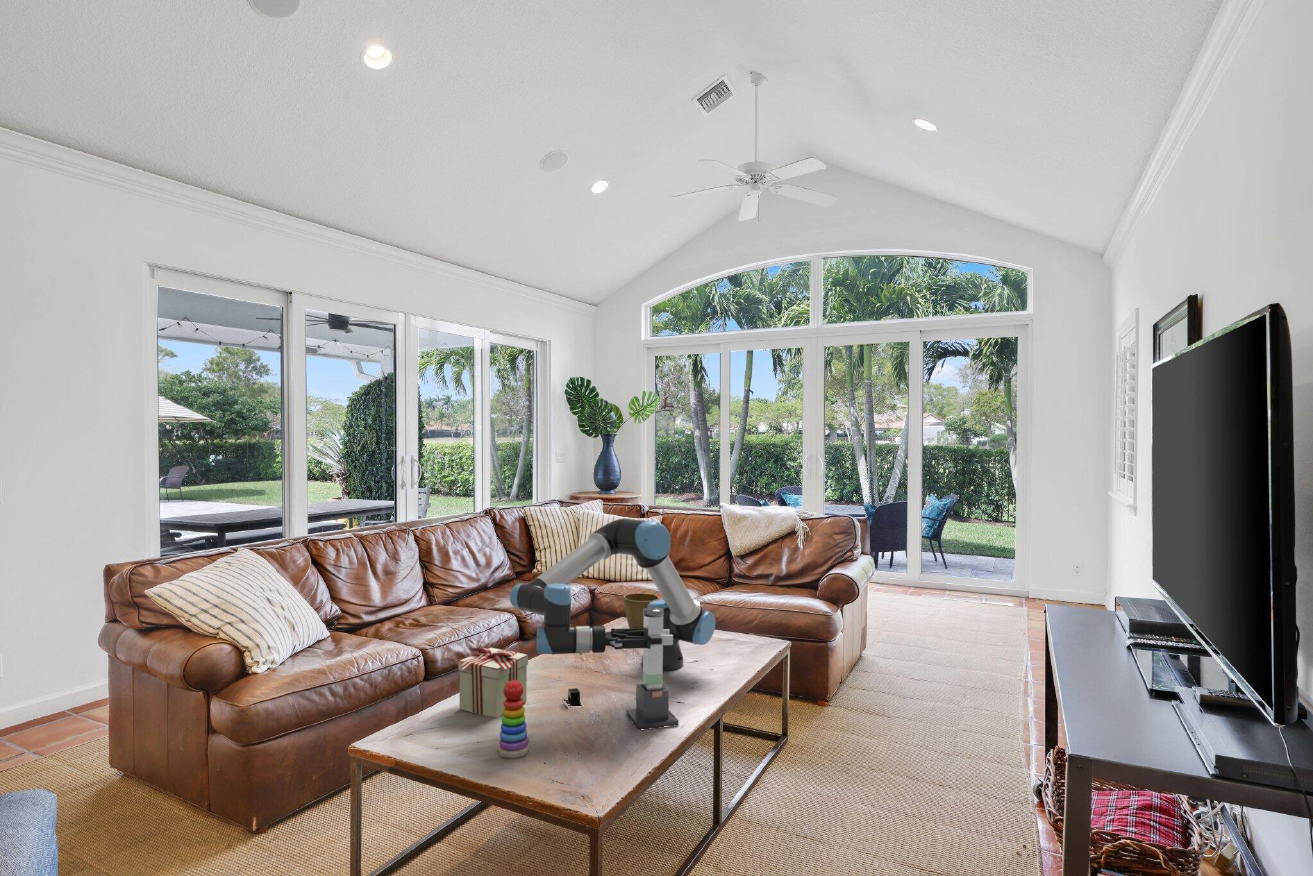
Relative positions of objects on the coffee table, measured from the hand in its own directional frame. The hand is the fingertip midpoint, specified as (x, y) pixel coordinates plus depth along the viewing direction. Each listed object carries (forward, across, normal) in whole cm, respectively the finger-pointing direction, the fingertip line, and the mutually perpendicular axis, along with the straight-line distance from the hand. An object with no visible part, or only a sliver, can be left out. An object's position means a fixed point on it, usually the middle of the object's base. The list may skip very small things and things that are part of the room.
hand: (670, 637), depth 207 cm
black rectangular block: (-27, -16, -25) cm, 40 cm away
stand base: (-5, 0, -24) cm, 25 cm away
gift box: (-52, -15, -24) cm, 59 cm away
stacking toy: (-44, +17, -24) cm, 53 cm away
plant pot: (+3, -90, -24) cm, 93 cm away
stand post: (-5, 0, -17) cm, 18 cm away
